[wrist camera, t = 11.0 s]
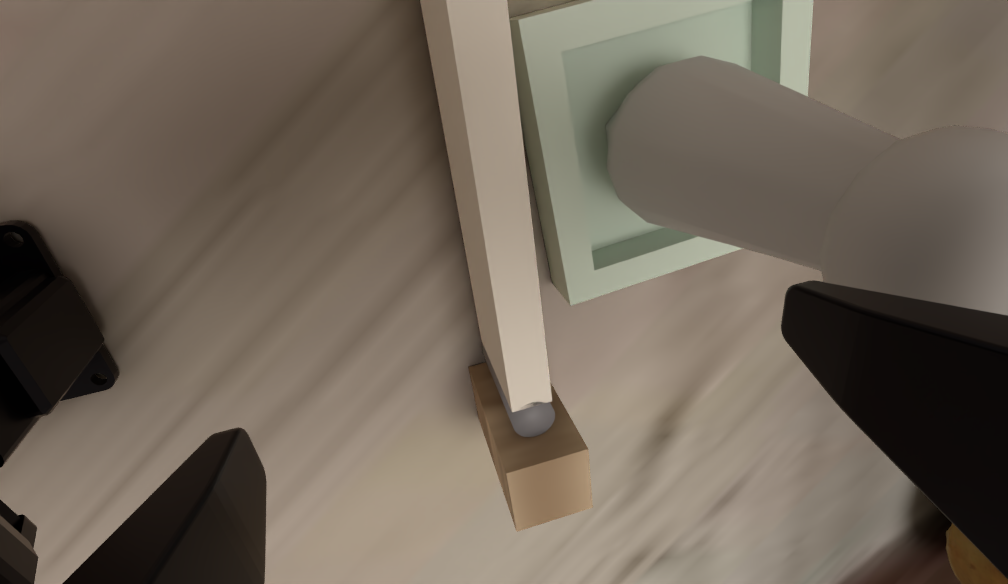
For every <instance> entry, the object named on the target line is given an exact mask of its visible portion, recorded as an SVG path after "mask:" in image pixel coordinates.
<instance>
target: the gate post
mask: <svg viewBox="0 0 1008 584" xmlns="http://www.w3.org/2000/svg"><path fill="white" fill-rule="evenodd" d="M469 372H470V377H471V382H472V387H473V392H474V397H475V402H476V407H477V412H478V417H479V421H480V423H481V426H482V429H483V432H484V435H485V438H486V441H487V444H488V447H489V450H490V453H491V456H492V459H493V462H494V465H495V468H496V471H497V474H498V477H499V480H500V483H501V486H502V489H503V492H504V495H505V498H506V501H507V504H508V507H509V510H510V513H511V516H512V519H513V522H514V525H515V528H516V531H520V530H524V529H527V528H530V527H533V526H536V525H539V524H542V523H545V522H549V521H552V520H555V519H558V518H561V517H564V516H567V515H570V514H574V513H577V512H580V511H583V510H586V509H589V508H592V507H593V505H592V492H591V479H590V466H589V453H588V448H587V446H586V444H585V442H584V441H583V439H582V437H581V435H580V434H579V432H578V430H577V428H576V427H575V425H574V423H573V421H572V420H571V418H570V416H569V414H568V413H567V411H566V409H565V407H564V406H563V404H562V402H561V400H560V398H559V397H558V395H557V393H556V391H555V390H554V388H553V386H552V384H551V383H550V385H551V394H552V401H551V402H550V403H551V405H552V407H553V409H554V411H555V419H554V422H553V424H552V426H551V427H550V428H549V429H548V430H547V431H546V432H544V433H543V434H541V435H538V436H535V437H523V436H520V435H519V434H517V433H516V432H515V430H514V428H513V426H512V423H511V421H510V418H509V416H508V414H507V411H506V409H505V406H504V404H503V402H502V399H501V397H500V394H499V392H498V389H497V387H496V385H495V382H494V380H493V377H492V375H491V372H490V370H489V368H488V365H487V363H486V362H485V363H481V364H478V365H474V366H470V367H469Z"/></svg>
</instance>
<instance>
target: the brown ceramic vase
mask: <svg viewBox="0 0 1008 584" xmlns="http://www.w3.org/2000/svg"><path fill="white" fill-rule="evenodd" d="M946 538H947V544H946V550H947V553H948V559H949V562H950V565H951V568H952V570H953V572H954V574H955V576H956V577H957V579H958V580H959V581H960V583H961V584H1008V579H1007V578H1006V577H1005V576H1004V575H1003V574H1002V573H1001V572H1000V571H999V570H998V569H997V568H996V567H995V566H994V565H993V564H992V563H991V562H990V561H989V560H988V559H987V558H986V557H985V556H984V555H983V554H982V553H981V552H980V551H979V550H978V549H977V548H976V547H975V546H974V545H973V544H972V543H971V542H970V541H969V540H968V539H967V538H966V536H965V535H964V534H963V533H962V532H961V531H960V530H959V529H958V528H957V527H956V526H955V525H954V524H953V523H952V525H951V527H950V528H949V529H948V530H947V531H946Z"/></svg>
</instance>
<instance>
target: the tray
mask: <svg viewBox="0 0 1008 584" xmlns="http://www.w3.org/2000/svg"><path fill="white" fill-rule="evenodd" d="M812 14H813V0H577V1H573V2H569V3H565V4H562V5H558V6H554V7H550V8H546V9H542V10H538V11H535V12H531V13H527V14H523V15H519V16H515V17H511V18H509V21H510V30H511V39H512V48H513V57H514V66H515V75H516V84H517V92H518V101H519V110H520V119H521V127H522V132H523V137H524V142H525V147H526V152H527V157H528V162H529V168H530V173H531V178H532V183H533V188H534V193H535V198H536V203H537V208H538V213H539V218H540V223H541V228H542V233H543V238H544V243H545V248H546V254H547V259H548V264H549V269H550V274H551V279H552V283H553V284H554V286H555V287H556V288H557V289H558V291H559V292H560V293H561V294H562V296H563V297H564V298H565V299H566V301H567V302H568V303H569V305H570V306H572V305H575V304H578V303H581V302H584V301H587V300H590V299H593V298H596V297H599V296H602V295H605V294H608V293H611V292H614V291H617V290H620V289H623V288H626V287H629V286H632V285H635V284H638V283H641V282H644V281H647V280H650V279H653V278H656V277H659V276H662V275H665V274H668V273H671V272H674V271H677V270H680V269H683V268H686V267H689V266H692V265H695V264H698V263H701V262H704V261H706V260H709V259H712V258H715V257H718V256H721V255H724V254H727V253H730V252H733V251H736V250H739V249H742V248H740V247H736V246H732V245H729V244H725V243H721V242H718V241H714V240H710V239H706V238H703V237H699V236H695V235H692V234H688V233H684V232H680V231H677V230H673V229H669V228H665V227H662V226H658V225H654V224H651V223H647V222H646V221H644V220H643V219H642V218H641V217H639V216H638V215H637V214H636V213H635V212H633V211H632V210H631V209H630V208H628V207H627V206H626V205H625V204H623V203H622V201H621V200H620V199H619V198H618V196H617V194H616V191H615V188H614V186H613V183H612V180H611V178H610V175H609V172H608V170H607V155H608V143H607V135H606V128H605V125H606V124H607V122H608V121H609V120H610V118H611V117H612V116H613V114H614V113H615V112H616V110H617V109H618V108H619V106H620V105H621V104H622V102H623V100H624V99H625V97H626V96H627V94H628V93H629V92H630V91H631V90H632V89H633V88H634V87H635V85H636V84H637V83H638V82H640V81H641V80H642V79H643V78H644V77H646V76H647V75H648V74H649V73H651V72H652V71H653V70H654V69H655V68H657V67H659V66H662V65H666V64H670V63H673V62H677V61H681V60H684V59H688V58H692V57H697V56H701V55H702V56H706V57H710V58H715V59H719V60H723V61H727V62H731V63H735V64H737V65H739V66H742V67H744V68H746V69H748V70H750V71H753V72H755V73H757V74H759V75H761V76H764V77H766V78H768V79H770V80H772V81H775V82H777V83H779V84H781V85H783V86H785V87H788V88H790V89H792V90H794V91H796V92H799V93H801V94H803V95H805V96H807V97H808V81H809V64H810V48H811V31H812Z"/></svg>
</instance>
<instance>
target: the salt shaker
mask: <svg viewBox="0 0 1008 584" xmlns="http://www.w3.org/2000/svg"><path fill="white" fill-rule="evenodd" d="M605 128H606V135H607V143H608V155H607V170H608V172H609V175H610V178H611V180H612V183H613V186H614V188H615V191H616V194H617V196H618V198H619V199H620V200H621V201H622V203H623V204H625V205H626V206H627V207H628V208H630V209H631V210H632V211H633V212H635V213H636V214H637V215H638V216H639V217H641V218H642V219H643V220H644V221H646V222H647V223H651V224H654V225H658V226H662V227H665V228H669V229H673V230H677V231H680V232H684V233H688V234H692V235H695V236H699V237H703V238H706V239H710V240H714V241H718V242H721V243H725V244H729V245H732V246H736V247H740V248H744V249H747V250H751V251H755V252H759V253H762V254H766V255H770V256H773V257H777V258H780V259H783V260H786V261H790V262H793V263H796V264H799V265H803V266H806V267H809V268H813V269H816V270H819V271H822V276H823V282H826V283H831V284H837V285H842V286H848V287H853V288H859V289H864V290H870V291H876V292H881V293H887V294H892V295H898V296H903V297H909V298H914V299H920V300H925V301H931V302H936V303H942V304H948V305H953V306H959V307H964V308H970V309H975V310H981V311H986V312H992V313H997V314H1003V315H1008V133H1006V132H1002V131H998V130H994V129H989V128H978V127H968V126H957V125H953V126H947V127H942V128H936V129H932V130H929V131H926V132H923V133H920V134H917V135H913V136H910V137H907V138H904V139H899V138H897V137H895V136H893V135H891V134H888V133H886V132H884V131H882V130H880V129H877V128H875V127H873V126H871V125H869V124H866V123H864V122H862V121H860V120H858V119H856V118H853V117H851V116H849V115H847V114H845V113H842V112H840V111H838V110H836V109H834V108H831V107H829V106H827V105H825V104H823V103H820V102H818V101H816V100H814V99H812V98H810V97H807V96H805V95H803V94H801V93H799V92H796V91H794V90H792V89H790V88H788V87H785V86H783V85H781V84H779V83H777V82H775V81H772V80H770V79H768V78H766V77H764V76H761V75H759V74H757V73H755V72H753V71H750V70H748V69H746V68H744V67H742V66H739V65H737V64H735V63H731V62H727V61H723V60H719V59H715V58H710V57H706V56H702V55H701V56H697V57H692V58H688V59H684V60H681V61H677V62H673V63H670V64H666V65H662V66H659V67H657V68H655V69H654V70H653V71H652V72H651V73H649V74H648V75H647V76H646V77H644V78H643V79H642V80H641V81H640V82H638V83H637V84H636V85H635V87H634V88H633V89H632V90H631V91H630V92H629V93H628V94H627V96H626V97H625V99H624V100H623V102H622V104H621V105H620V106H619V108H618V109H617V110H616V112H615V113H614V114H613V116H612V117H611V118H610V120H609V121H608V122H607V124H606V125H605Z"/></svg>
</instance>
